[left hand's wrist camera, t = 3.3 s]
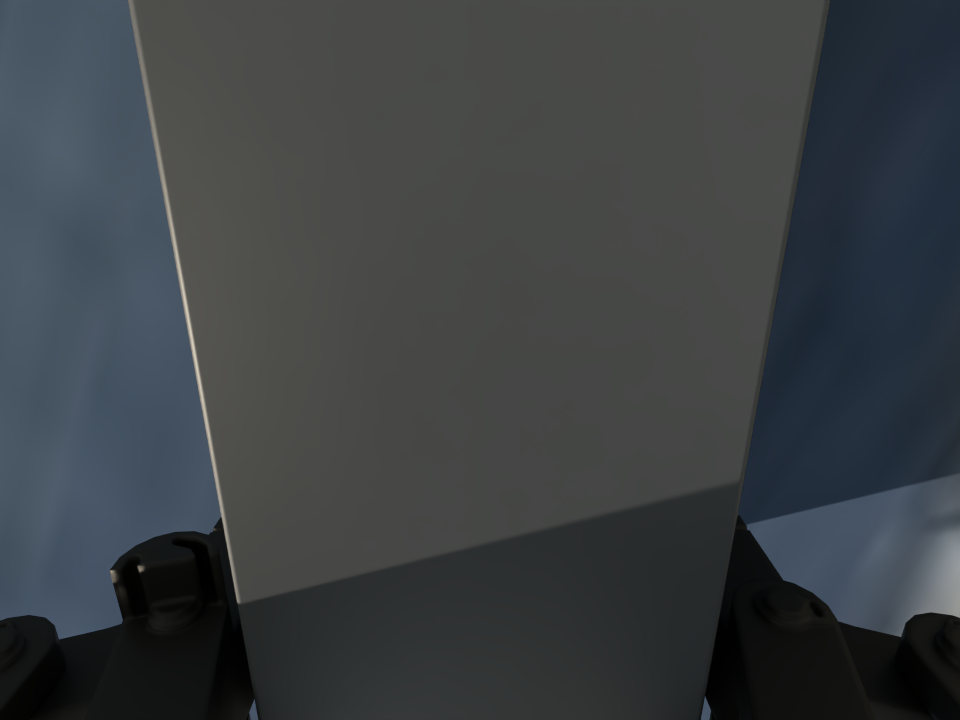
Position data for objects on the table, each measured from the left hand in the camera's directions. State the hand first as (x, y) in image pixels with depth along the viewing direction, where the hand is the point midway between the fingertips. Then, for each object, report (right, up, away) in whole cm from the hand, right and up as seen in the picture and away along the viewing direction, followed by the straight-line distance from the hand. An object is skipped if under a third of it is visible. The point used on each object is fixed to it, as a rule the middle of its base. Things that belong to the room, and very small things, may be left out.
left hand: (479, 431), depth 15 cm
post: (0, +32, -12) cm, 34 cm away
